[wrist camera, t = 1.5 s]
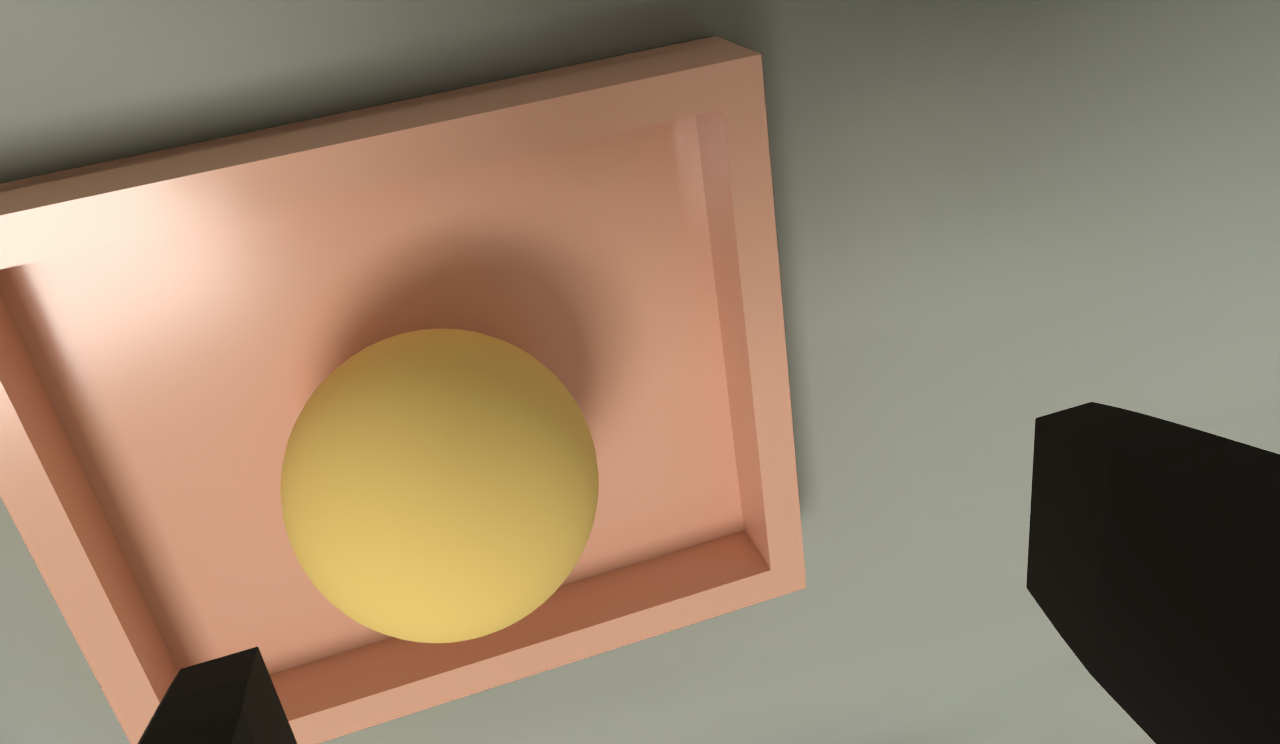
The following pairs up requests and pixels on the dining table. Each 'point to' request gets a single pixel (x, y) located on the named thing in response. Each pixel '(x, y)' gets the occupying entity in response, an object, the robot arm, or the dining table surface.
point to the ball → (439, 485)
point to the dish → (382, 308)
